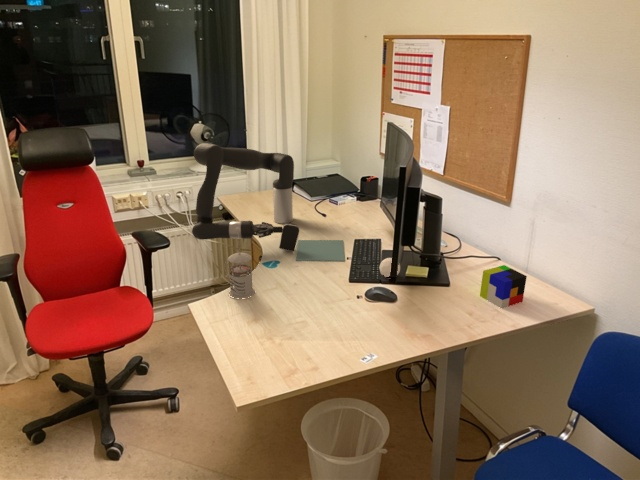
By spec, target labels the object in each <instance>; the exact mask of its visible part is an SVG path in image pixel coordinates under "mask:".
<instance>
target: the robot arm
mask: <svg viewBox="0 0 640 480" xmlns="http://www.w3.org/2000/svg"><path fill="white" fill-rule="evenodd" d="M193 158H194V159H195V161H196V162H197V163H198V164H200V165H202V166H203V167H204V166H205V167H206V172H205V178H204V180H203V182H202V185H201V186H200V188H199V189H198V193H197V197H196V203H195V205H196V206H195V213H196V215H197V216H196V224H194V225H193V227H192V229H191V234H192V236H193V237H194V238H195V239H197V240H202V241H203V240H214V239H236V240H238V234H239V240H240V239H241V240H246V239H247V240H248V239H249V240H252V239H253V238H254V236H256V237H258V239H259V238H260V239H261V238H264V237H265V238H266V237H269V236H272V234H275V233H276V234H279V233H281V234H282V230H283V226H274V225H273V224H272V223H268V222H265V221H262V222H261V223H257V224H254V222H253V221H252V220H233V221H218V222H215V223H214V222H213V221H214V220H213V211H214V205H215V204H214V203H215V195H216V189H217V186H218V183H219V182H218V181H219V178H220V174H221V171H222V167H223V166H225V167H229V168H233V169H236V170H237V169H239V170H246V171H255V170H259V169H263V170H266V171H267V170H268V171H271V172H274V173H277V174H278V179H275V180H273V182H272V193H273V194H272V196H273V221H274V223H277V224H285V223H291V222H293V221H294V220H293V219H294V215H293V213H294V212H293V210H294V209H293V183H294V177H295V176H294V172H295V170H294V169H295V162H294V159H293V157H292V156H291V155H290V154H285V153H281V152H261V151H259V150H256V149H251V148H242V147H241V148H240V147H221V146H220V145H217V144H215V143H213V144H212V143H207V142H202V143H200V144H198V145H197V146H196V147H195V149H194V150H193ZM237 227H238V228H240V229H241V231H239V232H236V231H235V229H236V228H237Z"/></svg>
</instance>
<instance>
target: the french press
mask: <svg viewBox="0 0 640 480" xmlns="http://www.w3.org/2000/svg"><path fill="white" fill-rule="evenodd" d="M235 231H236V232H239V231H241V229H240V228H238V227H237V228H236V229H235ZM237 242H238V245H240V239H239V234H238V239H237ZM251 260H252V256H251V255H250V254H248V253H247V252H241V251H240V248H238V252H235V253H233V254H232V253H231V255H229V256H228V257H227V260H226V261H225V262H224V265H223V266H224V268H223V269H224V272H225V274H226V276H227V277H228V278H229V284H230V290H229V291H230V292H229V291H228V293H229V294H230V296H232V297H234V298H239V299H242V298H248V297H250V296H253V295H254V294H255V295H256V293H255V291H256V290H255V289H254V287H253V272H252V270H251V266H250V265H249V264H246V263H249V262H250V261H251ZM226 263H230V264H235V265H232V266H231V267H230V268H229V267H227V270H228V272H229V275H228V273H227V271H226V265H227V264H226ZM255 295H254V296H255ZM254 296H253V297H254ZM250 298H251V297H250ZM248 299H249V298H248Z"/></svg>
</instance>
